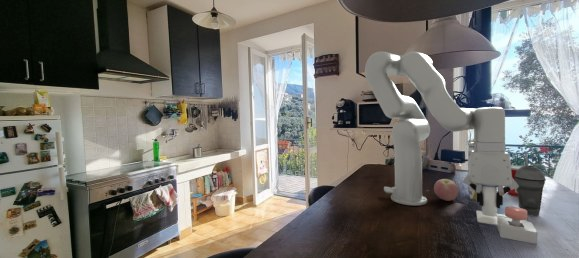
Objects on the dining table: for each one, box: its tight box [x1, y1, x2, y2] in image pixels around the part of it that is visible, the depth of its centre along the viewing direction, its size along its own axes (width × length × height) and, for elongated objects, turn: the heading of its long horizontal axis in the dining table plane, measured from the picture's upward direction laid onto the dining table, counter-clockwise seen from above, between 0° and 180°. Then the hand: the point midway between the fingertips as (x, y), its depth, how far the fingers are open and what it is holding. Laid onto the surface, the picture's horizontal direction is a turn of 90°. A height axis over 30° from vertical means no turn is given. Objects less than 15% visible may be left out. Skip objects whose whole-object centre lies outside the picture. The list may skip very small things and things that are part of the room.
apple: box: [433, 178, 459, 202], centre depth 96 cm, size 8×8×8 cm
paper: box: [475, 210, 527, 226], centre depth 77 cm, size 12×10×1 cm
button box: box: [496, 217, 538, 245], centre depth 67 cm, size 7×7×3 cm
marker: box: [481, 184, 498, 217], centre depth 78 cm, size 4×4×11 cm
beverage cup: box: [515, 151, 547, 217], centre depth 81 cm, size 7×7×20 cm
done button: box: [504, 206, 528, 227], centre depth 67 cm, size 4×4×5 cm
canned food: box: [507, 165, 523, 198], centre depth 99 cm, size 8×8×11 cm
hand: (489, 205), depth 78 cm, fingers closed on marker, 3 cm apart
